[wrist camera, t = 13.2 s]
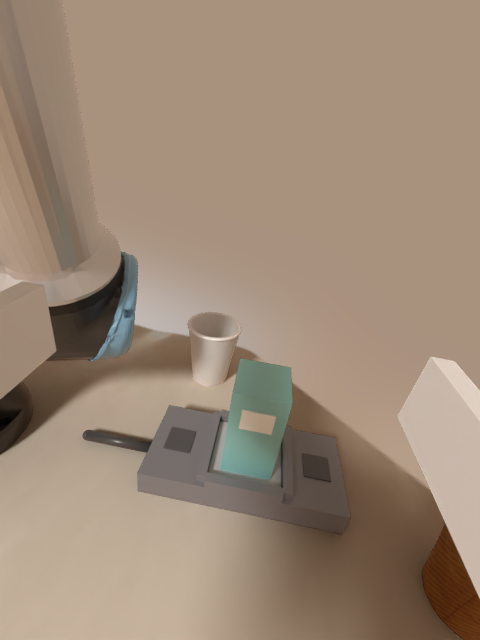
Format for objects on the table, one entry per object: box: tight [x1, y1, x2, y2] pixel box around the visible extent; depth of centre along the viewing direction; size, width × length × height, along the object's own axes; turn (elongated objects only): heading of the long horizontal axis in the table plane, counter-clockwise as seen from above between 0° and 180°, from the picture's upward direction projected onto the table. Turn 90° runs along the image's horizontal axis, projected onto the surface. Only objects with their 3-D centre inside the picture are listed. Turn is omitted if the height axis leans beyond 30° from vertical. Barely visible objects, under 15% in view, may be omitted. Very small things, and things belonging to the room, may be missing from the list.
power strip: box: [83, 405, 351, 534], centre depth 35 cm, size 31×10×4 cm, turn 82°
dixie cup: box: [188, 312, 242, 387], centre depth 49 cm, size 8×8×10 cm
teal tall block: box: [220, 358, 293, 480], centre depth 32 cm, size 6×6×11 cm
